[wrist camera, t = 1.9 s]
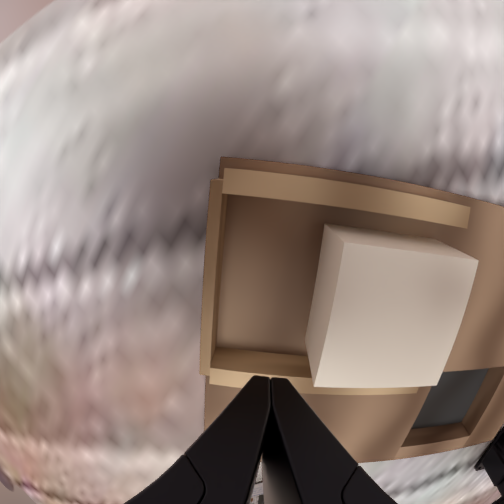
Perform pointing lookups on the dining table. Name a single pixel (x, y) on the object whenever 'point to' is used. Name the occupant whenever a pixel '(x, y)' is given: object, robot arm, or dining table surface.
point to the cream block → (385, 308)
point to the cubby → (301, 190)
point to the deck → (300, 300)
